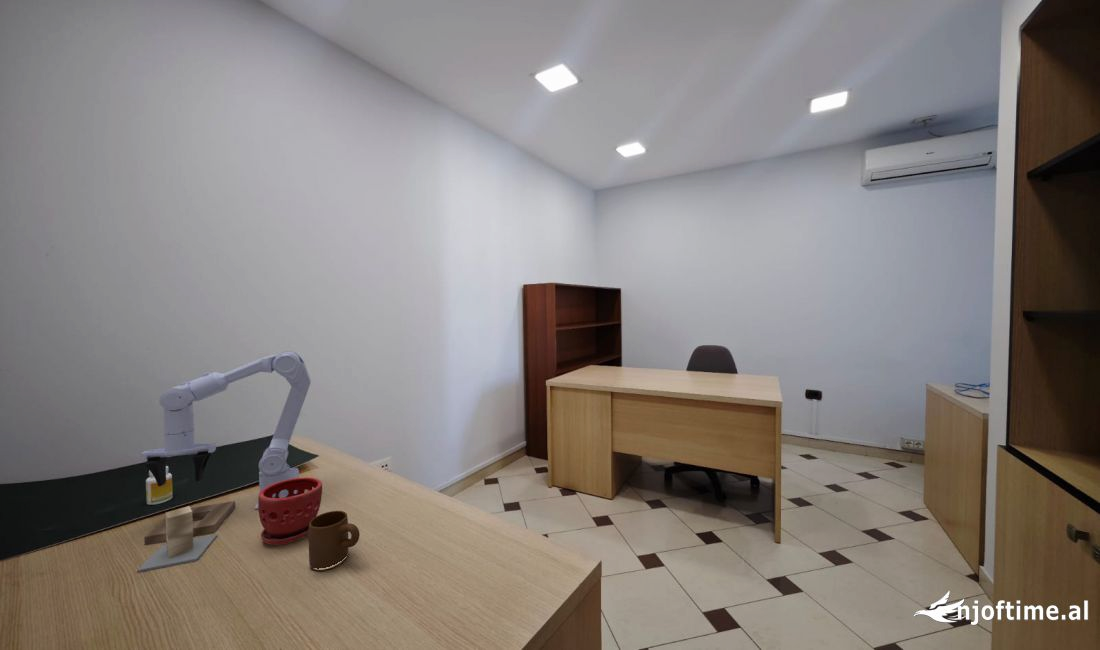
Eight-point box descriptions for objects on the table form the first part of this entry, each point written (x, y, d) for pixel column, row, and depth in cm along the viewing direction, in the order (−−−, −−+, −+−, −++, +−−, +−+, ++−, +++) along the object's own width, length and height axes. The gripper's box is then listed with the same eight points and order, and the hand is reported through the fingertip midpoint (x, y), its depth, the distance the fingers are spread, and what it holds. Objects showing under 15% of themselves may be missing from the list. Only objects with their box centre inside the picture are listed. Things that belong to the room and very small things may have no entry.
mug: (372, 557, 84) (371, 515, 84) (344, 579, 77) (343, 534, 77) (330, 547, 88) (329, 507, 88) (300, 568, 81) (299, 525, 81)
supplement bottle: (177, 496, 114) (176, 465, 114) (157, 505, 109) (156, 472, 108) (162, 496, 114) (161, 464, 114) (141, 504, 109) (140, 471, 109)
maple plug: (190, 543, 89) (189, 505, 89) (193, 549, 87) (192, 511, 87) (166, 551, 86) (165, 512, 86) (168, 558, 84) (167, 518, 84)
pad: (217, 536, 93) (217, 534, 93) (197, 560, 84) (197, 558, 84) (164, 546, 89) (164, 544, 89) (137, 572, 80) (137, 570, 80)
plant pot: (285, 554, 86) (284, 502, 85) (245, 543, 90) (244, 494, 89) (334, 524, 98) (333, 479, 98) (298, 516, 102) (297, 472, 102)
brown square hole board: (235, 508, 107) (235, 501, 107) (214, 532, 95) (214, 524, 95) (174, 517, 102) (174, 510, 102) (144, 545, 90) (144, 536, 90)
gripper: (220, 424, 106) (221, 471, 107) (152, 430, 101) (153, 480, 101) (208, 431, 100) (210, 481, 100) (135, 438, 94) (137, 492, 95)
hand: (180, 482), depth 100 cm, fingers open, 7 cm apart
